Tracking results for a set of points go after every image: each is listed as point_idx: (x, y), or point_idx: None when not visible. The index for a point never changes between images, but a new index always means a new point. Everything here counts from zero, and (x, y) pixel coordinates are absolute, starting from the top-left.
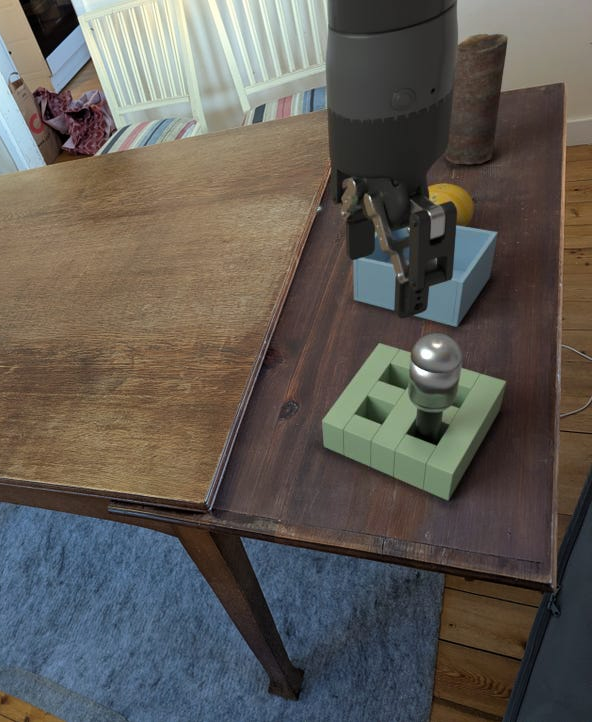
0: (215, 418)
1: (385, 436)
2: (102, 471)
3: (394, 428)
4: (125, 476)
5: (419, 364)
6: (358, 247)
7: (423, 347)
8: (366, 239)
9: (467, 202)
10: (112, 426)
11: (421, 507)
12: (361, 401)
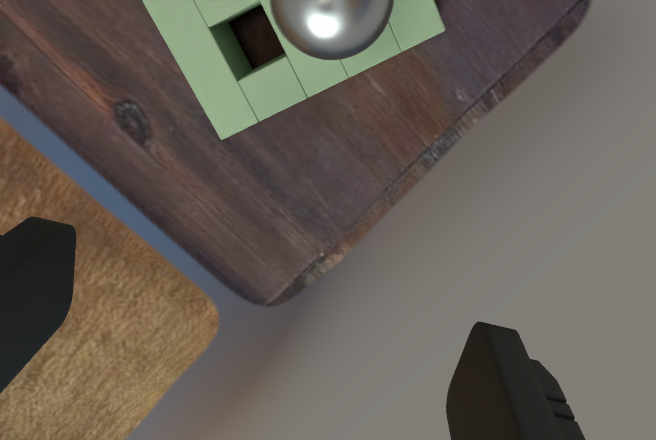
0: (92, 234)
1: (313, 70)
2: (115, 411)
3: None
4: (139, 390)
5: (337, 59)
6: (41, 312)
7: (319, 38)
8: (26, 298)
9: None
10: (33, 370)
11: (419, 68)
12: (217, 49)
